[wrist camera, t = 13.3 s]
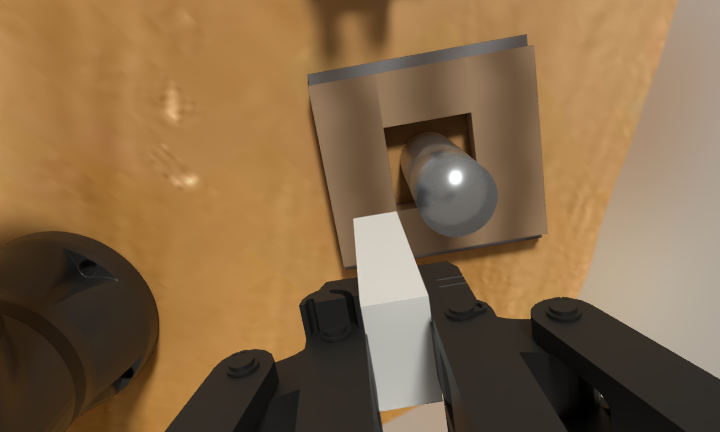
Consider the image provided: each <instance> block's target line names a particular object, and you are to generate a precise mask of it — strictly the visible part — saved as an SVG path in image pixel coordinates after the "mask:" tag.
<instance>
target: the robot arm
mask: <svg viewBox="0 0 720 432" xmlns="http://www.w3.org/2000/svg"><path fill="white" fill-rule="evenodd" d="M353 222H354V235H355V248H356V260H357V273H358V277H355V278H349V279H343V280H337V281H331V282H326V283H325V284H324V285H323V286H322V287H321V289H320V290H318V291H316V292H314V293H312V294H309V295H308V296H307V297H305V298H304V299H303V300H302V301H301V303H300V305H299V307H300V312H301V317H302V321H303V326H304V330H305V335H306V345H305V349H304V350H302V351H301V352H299V353H297V354H296V355H293V356H291V357H289V358H286V359H283V360H281V361H278V362H275V361H274V358H273V356H272V354H271V353H269V352H267V351H265V350H258V349H253V350H243V351H240V352H239V353H238V352H237V353H234V354H232V355H231V356H229V357H227V358H226V359H224V360H222V361H221V362H220V363H219V364H218V365H217V366H216V367H215V368H214V369H213V370H212V371H211V373H210V374H209V375H208V377H207V378H206V379H205V380H204V382H203V383H202V384H201V386H200V387H199V388H198V389H197V391H196V392H195V393H194V395H193V396H192V397H191V398H190V400H189V401H188V402H187V404H186V405H185V406H184V407H183V409H182V410H181V411H180V413H179V414H178V415H177V416H176V418H175V419H174V420H173V421H172V423H171V424H170V425H169V427H168V428H167V429H166V430H165V432H383V429H382V422H381V417H380V411H386V410H392V409H398V408H404V407H410V406H417V405H423V404H429V403H435V402H441V401H443V400H442V393H443V397H444V405H445V412H446V419H447V426H448V432H720V379H718V378H717V377H715V376H713V375H712V374H710V373H708V372H706V371H704V370H703V369H701V368H699V367H698V366H696V365H694V364H693V363H691V362H689V361H687V360H686V359H684V358H682V357H681V356H679V355H677V354H675V353H674V352H672V351H670V350H669V349H667V348H665V347H663V346H661V345H660V344H658V343H656V342H655V341H653V340H651V339H650V338H648V337H646V336H644V335H643V334H641V333H639V332H638V331H636V330H634V329H632V328H631V327H629V326H627V325H626V324H624V323H622V322H620V321H619V320H617V319H615V318H614V317H612V316H610V315H608V314H607V313H605V312H603V311H601V310H600V309H598V308H596V307H594V306H593V305H591V304H589V303H586V302H584V301H582V300H577V299H572V298H568V297H562V298H560V297H555V298H552V299H547V300H543V301H541V302H539V303H537V304H535V305H534V306H533V307H532V309H531V319H506V318H501V317H497V316H496V314H495V313H494V311H493V309H492V308H491V307H490V306H489V305H488V304H487V303H485V302H482V301H480V300H477V299H476V298H475V296H474V294H473V292H472V291H471V289H470V287H469V286H468V284H467V283H466V280H465V279H464V277H463V276H462V273H461V272H460V270H459V268H458V267H457V266H455V265H453V264H451V263H449V262H447V261H444V262H438V263H432V264H425V265H419V266H417V264H416V262H415V259H414V256H413V254H412V251H411V249H410V246H409V243H408V241H407V238H406V235H405V233H404V230H403V227H402V225H401V222H400V220H399V217H398V214H397V212H390V213H384V214H378V215H372V216H366V217H360V218H354V219H353ZM157 336H158V313H157V308H156V304H155V301H154V298H153V296H152V293H151V291H150V289H149V287H148V285H147V284H146V282H145V281H144V279H143V278H142V276H141V275H140V274H139V272H138V271H137V270H136V269H135V268H134V267H133V266H132V264H131V263H130V262H128V261H127V260H126V259H125V258H124V257H123V256H121V255H120V254H119V253H117V252H116V251H114V250H113V249H111V248H110V247H108V246H106V245H104V244H103V243H101V242H98V241H96V240H94V239H91V238H88V237H85V236H82V235H78V234H74V233H68V232H57V231H50V232H39V233H34V234H29V235H26V236H23V237H20V238H18V239H16V240H14V241H12V242H10V243H8V244H6V245H4V246H2V247H0V432H65V431H66V430H67V428H68V427H69V426H70V425H71V423H72V422H73V421H74V420H75V419H76V418H78V417H79V416H81V415H83V414H84V413H86V412H88V411H89V410H91V409H93V408H94V407H96V406H98V405H99V404H101V403H103V402H104V401H106V400H108V399H109V398H111V397H113V396H114V395H116V394H118V393H119V392H120V391H122V390H123V389H124V388H125V387H127V386H128V385H129V384H130V383H131V382H132V381H133V380H134V379H135V377H136V376H137V375H138V373H139V372H140V371H141V369H142V368H143V366H144V365H145V364H146V362H147V361H148V359H149V358H150V356H151V354H152V352H153V350H154V347H155V344H156V341H157ZM441 390H442V393H441ZM601 395H602V396H603V397H601Z"/></svg>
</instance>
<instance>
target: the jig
mask: <svg viewBox="0 0 720 432" xmlns="http://www.w3.org/2000/svg"><path fill="white" fill-rule="evenodd" d="M308 80H309V85H310V86H308V90H309V95H310V100H311V105H312V110H313V115H314V120H315V125H316V130H317V135H318V140H319V145H320V150H321V155H322V160H323V165H324V170H325V175H326V180H327V185H328V190H329V195H330V200H331V205H332V210H333V215H334V220H335V225H336V230H337V235H338V240H339V245H340V250H341V255H342V260H343V265H344V267H346V270H347V269H353V268H357V260H356V248H355V235H354V222H353V219H354V218H360V217H366V216H372V215H378V214H384V213H390V212H397V214H398V217H399V220H400V222H401V225H402V227H403V230H404V233H405V235H406V238H407V241H408V243H409V246H410V249H411V251H412V254H413V256H414V258H419V257H425V256H432V255H438V254H444V253H450V252H456V251H462V250H468V249H474V248H480V247H486V246H492V245H498V244H504V243H510V242H516V241H522V240H529V239H535V238H541V237H542V234H548V232H547V218H546V204H545V190H544V176H543V162H542V148H541V134H540V120H539V107H538V93H537V79H536V65H535V51H534V45H531V46H528V45H527V34H525V35H520V36H514V37H509V38H504V39H498V40H493V41H487V42H482V43H476V44H471V45H466V46H460V47H455V48H449V49H444V50H438V51H433V52H428V53H422V54H417V55H411V56H406V57H400V58H395V59H389V60H384V61H379V62H373V63H368V64H362V65H357V66H351V67H346V68H341V69H335V70H330V71H324V72H319V73H313V74H308ZM465 113H466V119H467V128H468V136H469V145H470V154H471V158H473V159H474V160H475V161H476V162H478V163H479V164H480V165H481V166H482V167H484V168H485V169H486V170H487V171H488V172H489V173H490V174H491V176H492V177H493V179H494V181H495V184H496V187H497V192H498V199H497V205H496V209H495V211H494V213H493V215H492V217H491V218H490V220H489V221H488V222H487V223H486V224H485V225H484V226H483V227H482V228H481V229H479V230H478V231H476V232H474V233H472V234H469V235H466V236H461V237H450V236H445V235H442V234H439V233H437V232H435V231H434V230H432V229H431V228H430V227H429V226H428V225H427V224H426V223H425V222H424V220H423V219H422V217H421V215H420V212H419V210H418V207H417V205H416V203H415V201H412V202H406V203H400V204H396V203H395V197H394V191H393V185H392V178H391V172H390V166H389V160H388V154H387V147H386V141H385V135H384V129H383V128H386V127H391V126H397V125H403V124H408V123H414V122H420V121H425V120H431V119H436V118H442V117H448V116H453V115H459V114H465Z"/></svg>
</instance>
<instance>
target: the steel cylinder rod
mask: <svg viewBox="0 0 720 432" xmlns="http://www.w3.org/2000/svg"><path fill="white" fill-rule="evenodd" d="M400 165H401V169H402V172H403V174H404V176H405V179H406V181H407V184H408V186H409V188H410V191H411V193H412V196H413V198H414V200H415V203H416V205H417V207H418V210H419V212H420V215H421V217H422V219H423V220H424V222H425V223H426V224H427V225H428V226H429V227H430V228H431V229H432V230H434V231H435V232H437V233H439V234H442V235H445V236H450V237H461V236H466V235H469V234H472V233H474V232H476V231H478V230H479V229H481V228H482V227H483V226H484V225H485V224H486V223H487V222H488V221H489V220H490V218H491V217H492V215H493V213H494V211H495V209H496V205H497V199H498V192H497V187H496V184H495V181H494V179H493V177H492V176H491V174H490V173H489V172H488V171H487V170H486V169H485V168H484V167H482V166H481V165H480V164H479V163H478V162H476V161H475V160H474V159H473V158H471V157H470V156H469V155H468V154H466V153H465V152H464V151H463V150H462V149H460V148H459V147H458V146H457V145H455V144H454V143H453V142H452V141H450V140H449V139H448V138H447V137H446V136H444V135H442V134H440V133H437V132H432V131H427V132H422V133H419V134H416V135H415V136H413V137H412V138H410V139H409V140H408V141H407V143H406V144H405V145H404V147H403V149H402V152H401V156H400Z"/></svg>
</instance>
